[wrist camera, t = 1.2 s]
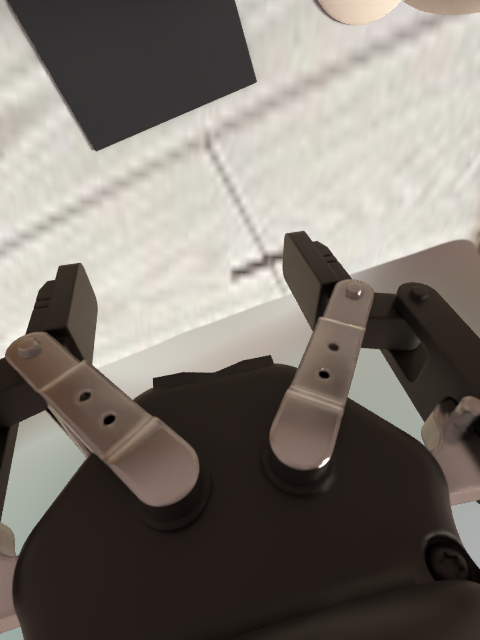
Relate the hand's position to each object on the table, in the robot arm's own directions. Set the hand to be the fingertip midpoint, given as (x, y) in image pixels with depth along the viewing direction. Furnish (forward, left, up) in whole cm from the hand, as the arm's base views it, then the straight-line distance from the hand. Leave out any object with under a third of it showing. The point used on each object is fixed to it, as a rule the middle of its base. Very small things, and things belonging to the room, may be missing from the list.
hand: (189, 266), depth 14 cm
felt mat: (-10, -3, -24) cm, 26 cm away
